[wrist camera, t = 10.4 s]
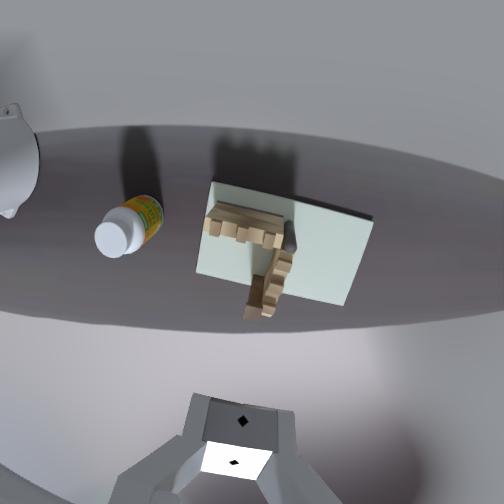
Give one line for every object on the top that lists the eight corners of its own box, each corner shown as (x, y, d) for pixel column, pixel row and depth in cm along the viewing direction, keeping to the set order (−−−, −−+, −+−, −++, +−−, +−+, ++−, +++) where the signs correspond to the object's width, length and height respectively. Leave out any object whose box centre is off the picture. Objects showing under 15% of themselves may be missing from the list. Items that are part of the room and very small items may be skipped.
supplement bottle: (172, 215, 39) (142, 242, 30) (147, 242, 41) (114, 273, 32) (143, 185, 38) (106, 204, 29) (120, 213, 39) (81, 238, 30)
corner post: (249, 284, 41) (242, 319, 34) (252, 272, 40) (246, 305, 33) (263, 287, 41) (259, 322, 34) (266, 275, 40) (262, 309, 33)
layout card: (197, 270, 42) (195, 272, 41) (212, 181, 37) (211, 182, 36) (342, 303, 42) (343, 306, 41) (372, 221, 37) (373, 222, 36)
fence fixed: (214, 214, 38) (200, 233, 31) (217, 202, 37) (202, 219, 30) (292, 232, 38) (294, 256, 31) (295, 220, 37) (299, 242, 30)
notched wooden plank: (280, 231, 38) (280, 253, 31) (292, 234, 38) (295, 257, 31) (261, 288, 41) (257, 317, 34) (272, 291, 41) (270, 321, 34)
